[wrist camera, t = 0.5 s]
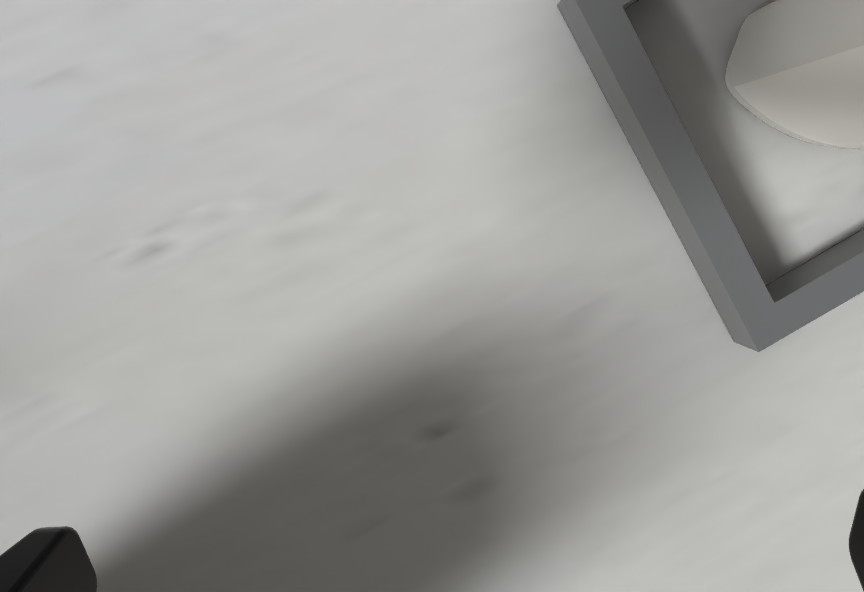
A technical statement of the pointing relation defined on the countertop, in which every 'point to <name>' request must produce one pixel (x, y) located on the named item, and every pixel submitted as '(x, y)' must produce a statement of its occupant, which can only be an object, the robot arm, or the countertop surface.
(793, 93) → the eye dropper bottle
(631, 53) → the upper socket
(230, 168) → the countertop surface
